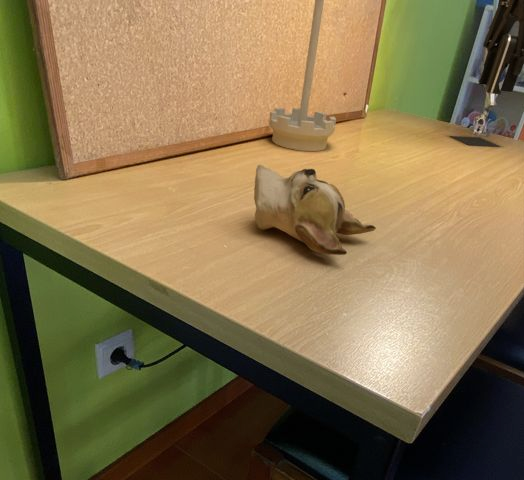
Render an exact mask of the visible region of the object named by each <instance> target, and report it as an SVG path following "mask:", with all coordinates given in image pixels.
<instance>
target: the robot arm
mask: <svg viewBox="0 0 524 480" xmlns="http://www.w3.org/2000/svg"><path fill="white" fill-rule="evenodd" d="M497 2H498V3H497V8H496V10H495V13H494V15H493V18H492V20H491V23H490V26H489V28H488V30H487V33H486V36H485V39H484V41H483V44H482V46H483V48H485V49H486V51H487V53H486V56H485V60H484V63H483V69H482V72H481V74H480V78H479V81H478V85H480V86H481V85H482V86H485V85H486V82H487V79H488V76H489V73H490V70H491V66H492V63H493V60H494V57H495V54H496V51H497V48H498V45H499V42H500V40H501V37H502V36H503V35H504V34H510V32H511V31H512V29H513V27H514V25H515V23H516V22H518V31H517V36H518V39H517V47H516V54H514V55H513V57H512V58H511V61H510V64H508V67H507V68H506V72H505V74H504V75H505V76H504V79H503V81H502V84H501V86H500V90H501V91H502V92H509V93H513V91H514V88H515V86H516V83H517V80H518V78H519V76H520V75H521V73H522V70H523V67H524V0H498V1H497Z"/></svg>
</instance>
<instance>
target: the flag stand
mask: <svg viewBox="0 0 524 480" xmlns="http://www.w3.org/2000/svg"><path fill="white" fill-rule="evenodd" d="M324 2H325V1H324V0H314V6H313V12H312V13H313V14H312V20H311V29H310V35H309V40H308V41H309V42H308V49H307V55H306V65H305V71H304V78H303V86H302V93H301V99H300V107H292V108H291V109H292V111H291V113H286V108H284V107H275V108H273V110H271V109H270V111H269V118H268V120H269V121H268V125H269V127H270V128H271V129H272V131H273V132H272V138H271V141H272V142H273V143H274V144H275V145H277V146H279V147H282V148H286V149H290V150H295V151H301V152H302V151H303V152H320V151H324V150H325V149H327V144H328V139H329V137H331V136H332V135H333V134H334V133H335V130H336V129H335V127H336V122H337V118H336V117H335V116H328V120H327V115H328V114H327V113H325V112H323V111H318V110H316V111H314V113H313V116H312V115H308V112H309V111H308V110H309V104H310V97H311V92H312V84H313V77H314V70H315V64H316V56H317V49H318V43H319V37H320V29H321V25H322V23H321V22H322V17H323V10H324V4H325V3H324Z"/></svg>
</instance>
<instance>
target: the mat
mask: <svg viewBox="0 0 524 480" xmlns="http://www.w3.org/2000/svg"><path fill="white" fill-rule="evenodd" d="M449 137H450V138H452V139H454V140H456V141H458V142H461V143H463V144H465V145H467V146H476V147H477V146H478V147H495V148H496V147H497V148H498V147H499V148H500V145H499V144H496V143H494V142H491V141H488V140H486V139H484V138H482V137H479V136H478V137H475V136H457V135H456V136H455V135H449Z"/></svg>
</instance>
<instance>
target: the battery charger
mask: <svg viewBox="0 0 524 480" xmlns="http://www.w3.org/2000/svg"><path fill="white" fill-rule="evenodd" d="M517 39H518V35H513V34H510V33H509V34H504V35H503V36H502V37H501V40H500V42H499V45H498V48H497V51H496V54H495V57H494V60H493V63H492V66H491V70H490V73H489V76H488V79H487V82H486V85H484V89H483V90H484V91H485V93H487V94H489V95H491V94H493V95H501V94H502V92H503V91H501V88H500V81H501V78H502V75H503V73H504V71H505V70H506V69H508V67H509V64H510V61H511V58H512V57H513V55H514V54H516V47H517Z"/></svg>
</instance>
